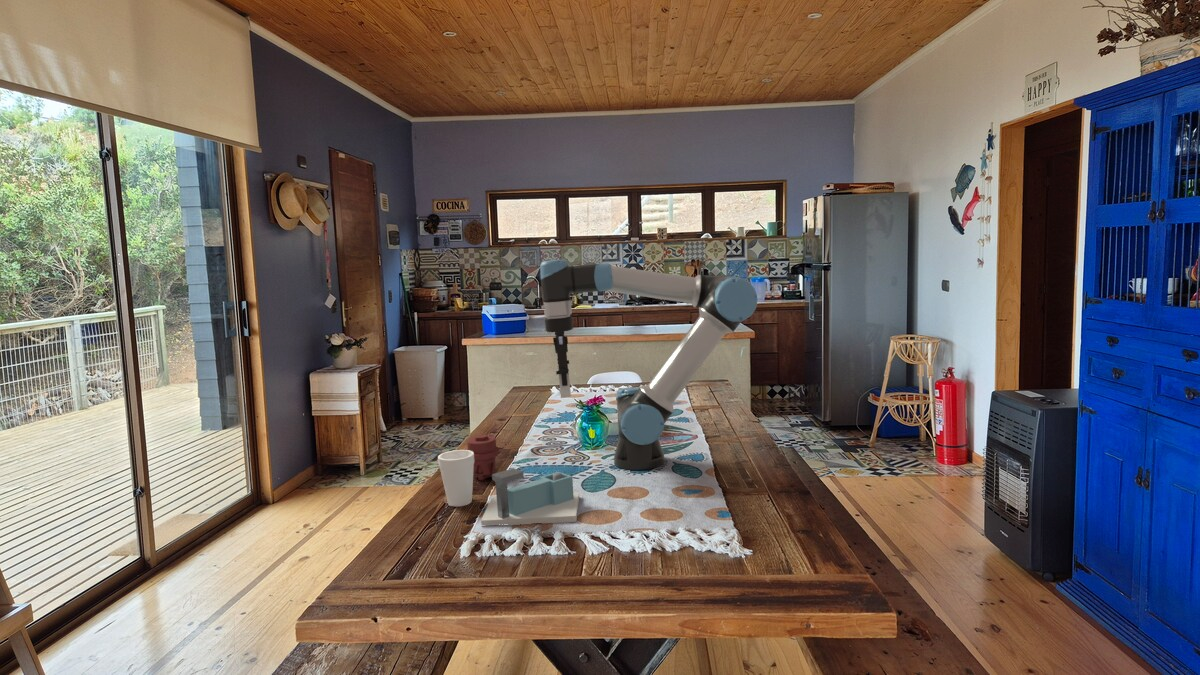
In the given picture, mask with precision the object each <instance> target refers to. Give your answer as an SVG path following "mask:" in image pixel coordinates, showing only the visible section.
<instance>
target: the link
mask: <svg viewBox="0 0 1200 675" xmlns="http://www.w3.org/2000/svg"><path fill="white" fill-rule="evenodd" d="M554 473H562V479H558V480H555V481H553V474H554ZM573 482H574V481H573V476H572V475H570V474H566V473H563V472H560V471H556V472H551V473H550V474H545V475H543V476H540V477H539V479H536V480H532V481H530V482H527V483H526V482H525V483H523V484H520V485H517V486H516V485H515V486H514V487H511V488H507V490H508V503H509V513H510V514H512V515H514V516H516V515H519V514H522V513H525V512H528V511H531V510H534V509H537V508H540V507H543V506H546V505H549V504H553V505H557V504H560V503H563V502H566V501H569V500H572V499H574V495H573V492H574V483H573Z"/></svg>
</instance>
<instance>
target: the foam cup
mask: <svg viewBox="0 0 1200 675" xmlns="http://www.w3.org/2000/svg"><path fill="white" fill-rule="evenodd" d="M437 461H438V462H437V463H438V468H439V471H440V475H441V479H442V482H443V488H444V491H445V492H444V493H445V497H446V502H447V505H448V506H450V507H464V506H467V505H469V504H471V503H472V501H473V500H472V499H473V485H474V474H473V468H474V453H473V451H470V450H467V449H455V450H454V449H453V450H450V451H445V452H442V453H440V454H439V455H437Z"/></svg>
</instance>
